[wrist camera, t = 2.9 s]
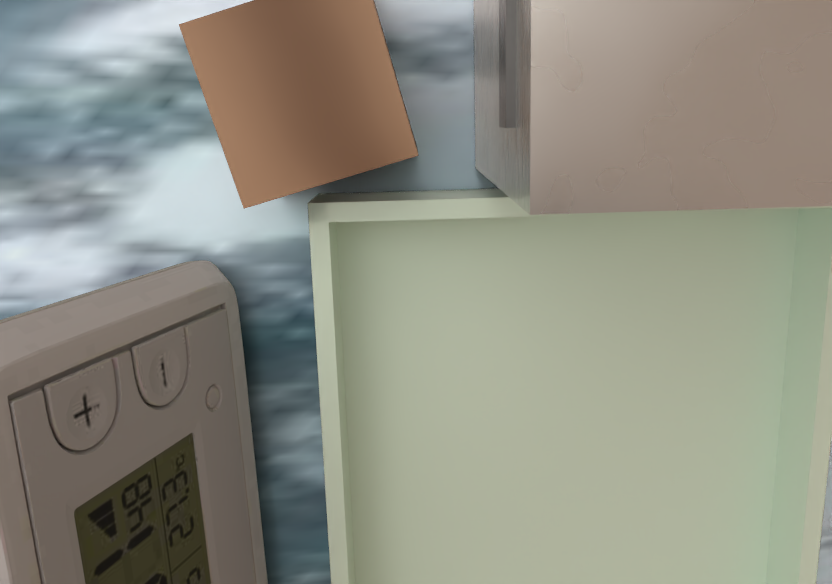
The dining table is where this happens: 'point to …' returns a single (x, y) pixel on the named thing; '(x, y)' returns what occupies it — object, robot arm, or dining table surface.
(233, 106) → the walnut block
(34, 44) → the dining table surface
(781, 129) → the light grey labelled box
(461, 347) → the tray
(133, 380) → the digital clock
